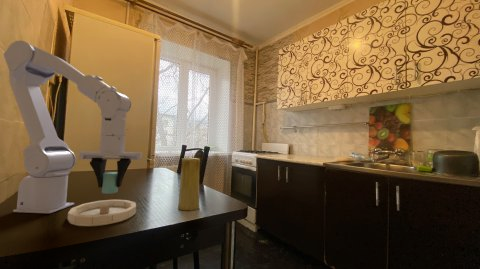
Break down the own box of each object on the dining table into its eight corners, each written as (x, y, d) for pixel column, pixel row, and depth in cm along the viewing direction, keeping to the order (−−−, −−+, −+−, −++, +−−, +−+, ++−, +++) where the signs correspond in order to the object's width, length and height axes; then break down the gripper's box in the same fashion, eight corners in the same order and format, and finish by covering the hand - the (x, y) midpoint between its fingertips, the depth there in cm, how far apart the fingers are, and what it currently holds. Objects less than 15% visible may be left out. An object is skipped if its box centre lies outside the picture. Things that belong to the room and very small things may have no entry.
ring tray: (51, 224, 46) (52, 215, 46) (96, 205, 60) (96, 198, 60) (115, 227, 46) (115, 218, 46) (144, 207, 60) (145, 200, 60)
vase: (194, 211, 58) (196, 160, 59) (173, 209, 59) (176, 158, 60) (202, 205, 64) (204, 158, 65) (183, 203, 65) (186, 157, 66)
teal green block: (98, 193, 55) (99, 173, 55) (107, 190, 58) (108, 172, 59) (112, 194, 55) (113, 174, 55) (120, 190, 58) (121, 172, 58)
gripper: (74, 134, 51) (70, 190, 51) (139, 136, 55) (137, 189, 55) (86, 135, 58) (83, 184, 57) (144, 137, 62) (141, 183, 62)
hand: (110, 186), depth 57 cm, fingers closed on teal green block, 4 cm apart
